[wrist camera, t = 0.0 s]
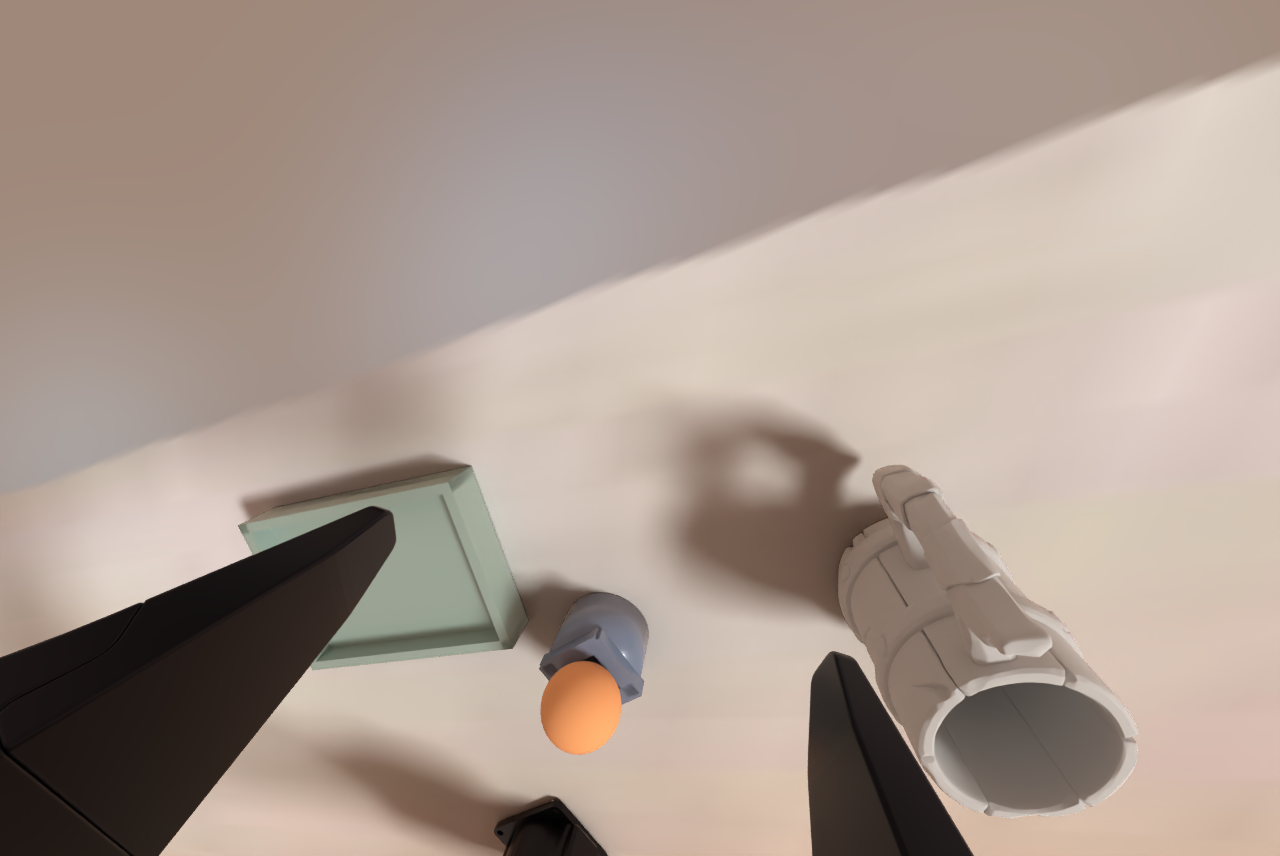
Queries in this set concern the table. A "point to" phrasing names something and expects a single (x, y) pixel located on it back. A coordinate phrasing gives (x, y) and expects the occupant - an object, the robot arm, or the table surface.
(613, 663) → the cylinder with square socket
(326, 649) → the tray
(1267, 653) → the table surface
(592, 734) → the ball
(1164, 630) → the table surface
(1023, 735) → the mug
